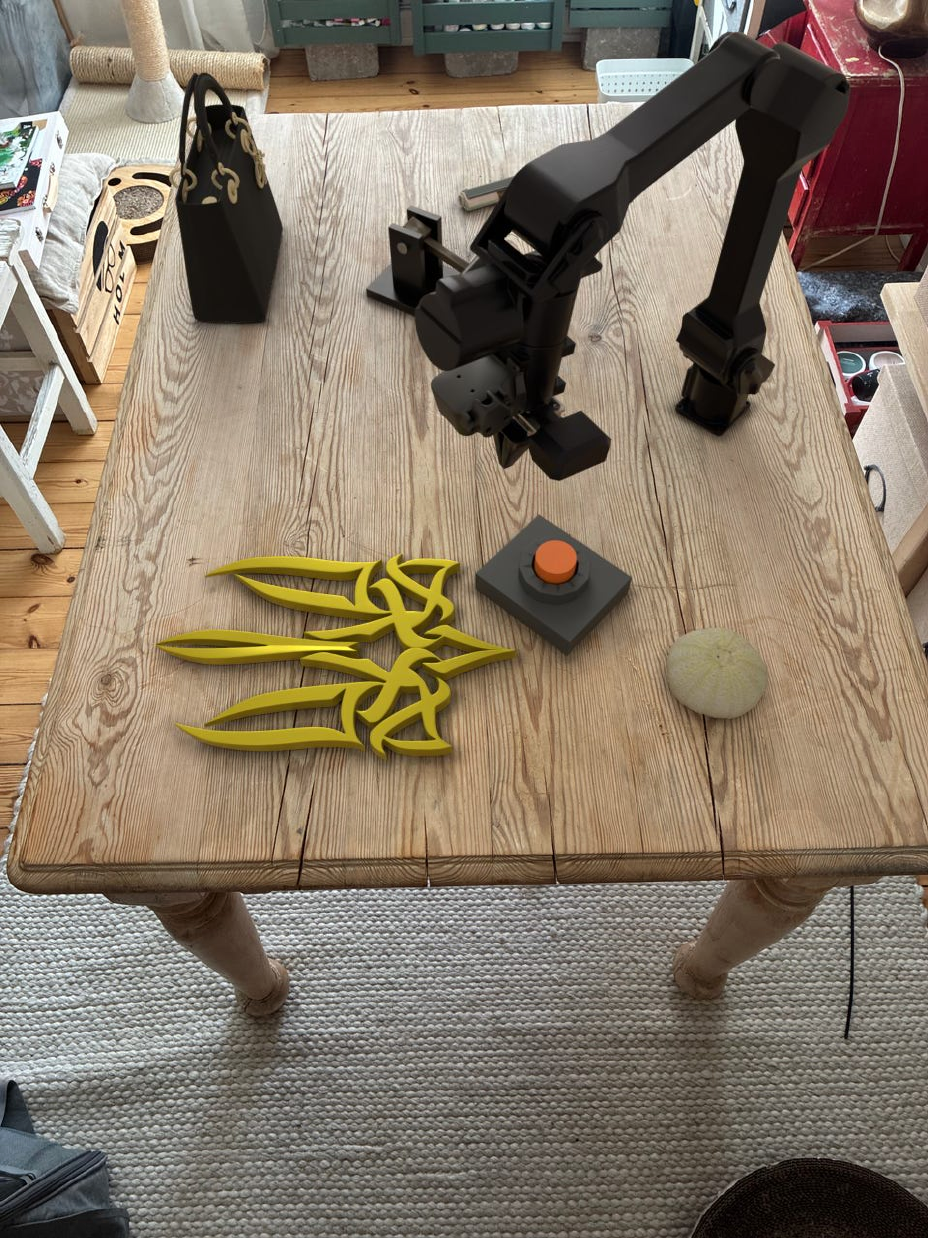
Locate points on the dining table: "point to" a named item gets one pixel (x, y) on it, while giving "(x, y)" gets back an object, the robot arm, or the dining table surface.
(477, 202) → the handgun
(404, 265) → the bracket
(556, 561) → the button
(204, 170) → the handbag
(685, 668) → the sea urchin shell
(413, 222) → the lever
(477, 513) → the dining table surface
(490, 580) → the button box
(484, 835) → the dining table surface
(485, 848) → the dining table surface
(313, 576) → the trident
